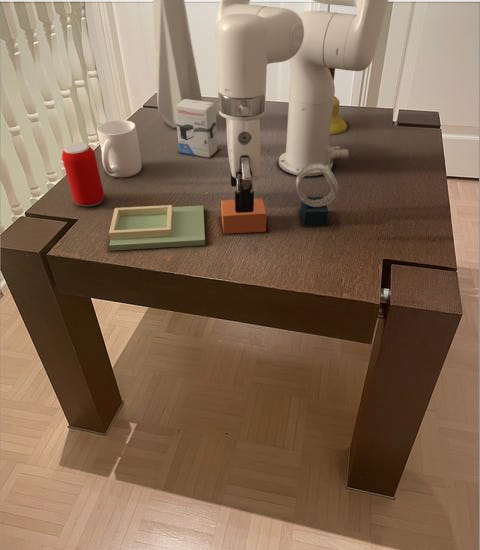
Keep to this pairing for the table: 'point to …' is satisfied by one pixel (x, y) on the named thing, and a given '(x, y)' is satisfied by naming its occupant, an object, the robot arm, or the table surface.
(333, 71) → the handbell
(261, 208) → the orange box
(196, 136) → the ink box
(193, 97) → the vase
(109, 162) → the mug
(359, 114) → the table surface
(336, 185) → the grey ring dark base
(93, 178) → the beverage can
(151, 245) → the base pad
